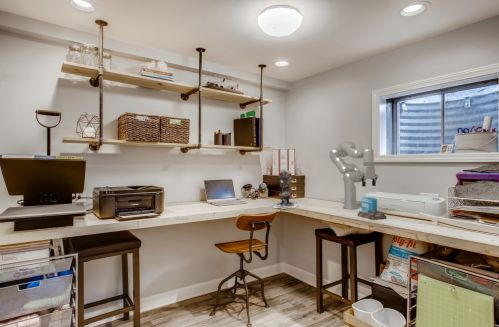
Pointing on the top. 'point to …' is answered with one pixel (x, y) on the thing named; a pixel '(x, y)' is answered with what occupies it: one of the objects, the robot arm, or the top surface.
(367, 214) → the display riser
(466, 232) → the top surface
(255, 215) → the top surface
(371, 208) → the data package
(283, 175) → the dark grey statue
